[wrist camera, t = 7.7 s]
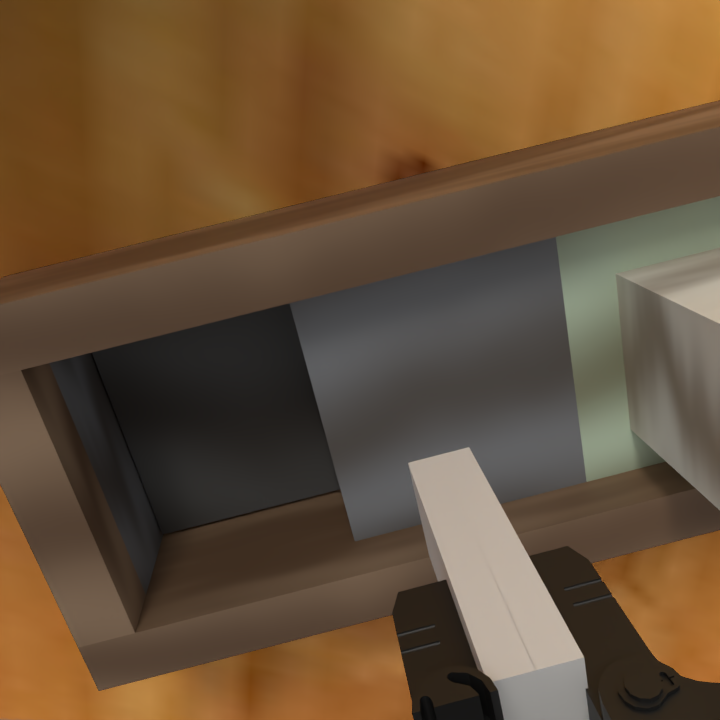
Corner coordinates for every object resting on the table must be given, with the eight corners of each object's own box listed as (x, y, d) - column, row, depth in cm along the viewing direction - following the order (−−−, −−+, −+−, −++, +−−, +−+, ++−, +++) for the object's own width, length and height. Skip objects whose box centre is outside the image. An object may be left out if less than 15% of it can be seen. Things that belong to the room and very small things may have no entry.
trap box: (4, 276, 25) (-77, 323, 20) (995, 32, 26) (1193, 10, 20) (133, 582, 30) (98, 690, 24) (964, 369, 31) (1116, 427, 25)
